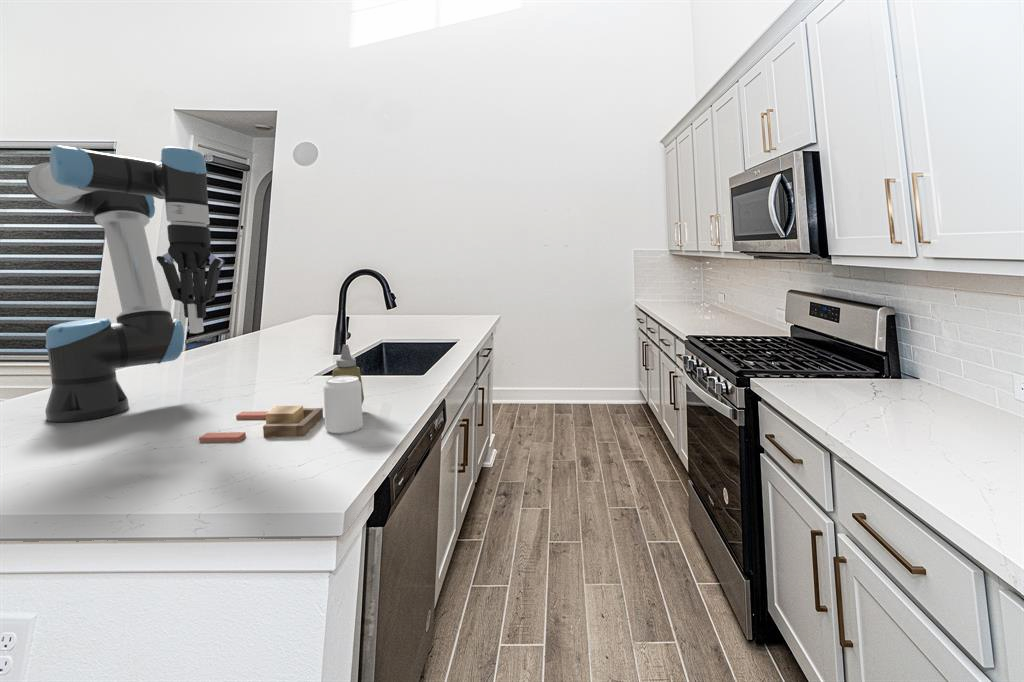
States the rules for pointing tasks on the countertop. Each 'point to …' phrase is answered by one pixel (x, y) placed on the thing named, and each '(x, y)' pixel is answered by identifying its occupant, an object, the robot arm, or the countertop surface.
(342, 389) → the beverage can
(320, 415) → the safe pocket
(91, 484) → the countertop surface
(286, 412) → the oak block
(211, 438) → the mats
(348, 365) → the squeeze bottle
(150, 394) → the countertop surface
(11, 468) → the countertop surface
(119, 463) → the countertop surface
